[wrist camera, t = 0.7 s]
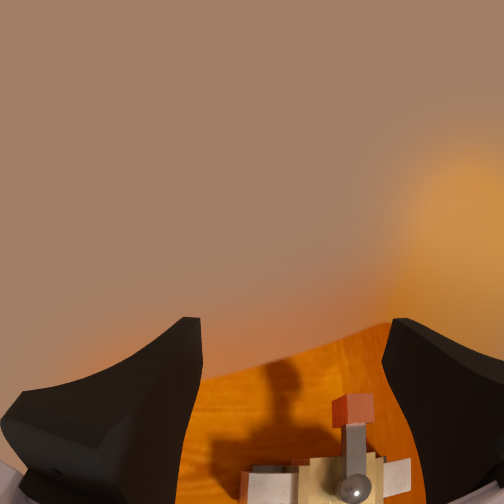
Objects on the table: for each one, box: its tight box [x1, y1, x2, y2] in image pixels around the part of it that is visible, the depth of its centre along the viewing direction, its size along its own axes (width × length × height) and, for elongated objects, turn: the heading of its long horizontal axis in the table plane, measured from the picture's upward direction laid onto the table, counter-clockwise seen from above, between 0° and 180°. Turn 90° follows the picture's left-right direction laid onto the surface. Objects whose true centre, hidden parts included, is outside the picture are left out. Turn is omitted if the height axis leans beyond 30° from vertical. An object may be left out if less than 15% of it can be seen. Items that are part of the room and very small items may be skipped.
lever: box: [332, 393, 375, 504], centre depth 17 cm, size 8×2×2 cm, turn 177°
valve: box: [239, 452, 411, 504], centre depth 17 cm, size 6×14×5 cm, turn 87°
